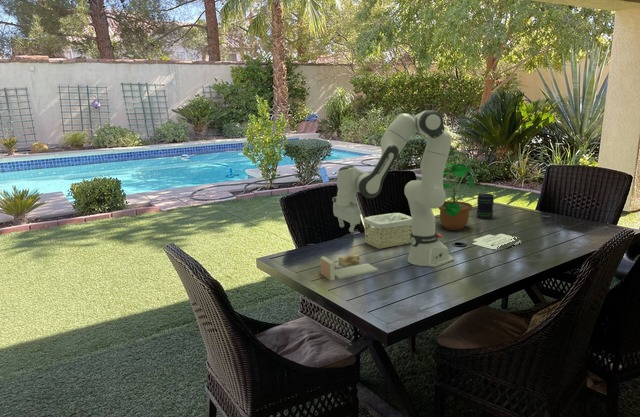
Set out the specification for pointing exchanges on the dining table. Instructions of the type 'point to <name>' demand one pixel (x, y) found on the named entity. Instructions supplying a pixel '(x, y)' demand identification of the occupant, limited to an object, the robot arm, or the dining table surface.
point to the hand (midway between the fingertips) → (346, 229)
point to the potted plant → (455, 202)
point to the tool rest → (354, 271)
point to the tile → (328, 268)
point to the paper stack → (494, 241)
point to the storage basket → (388, 230)
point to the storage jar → (485, 206)
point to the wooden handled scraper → (347, 261)
